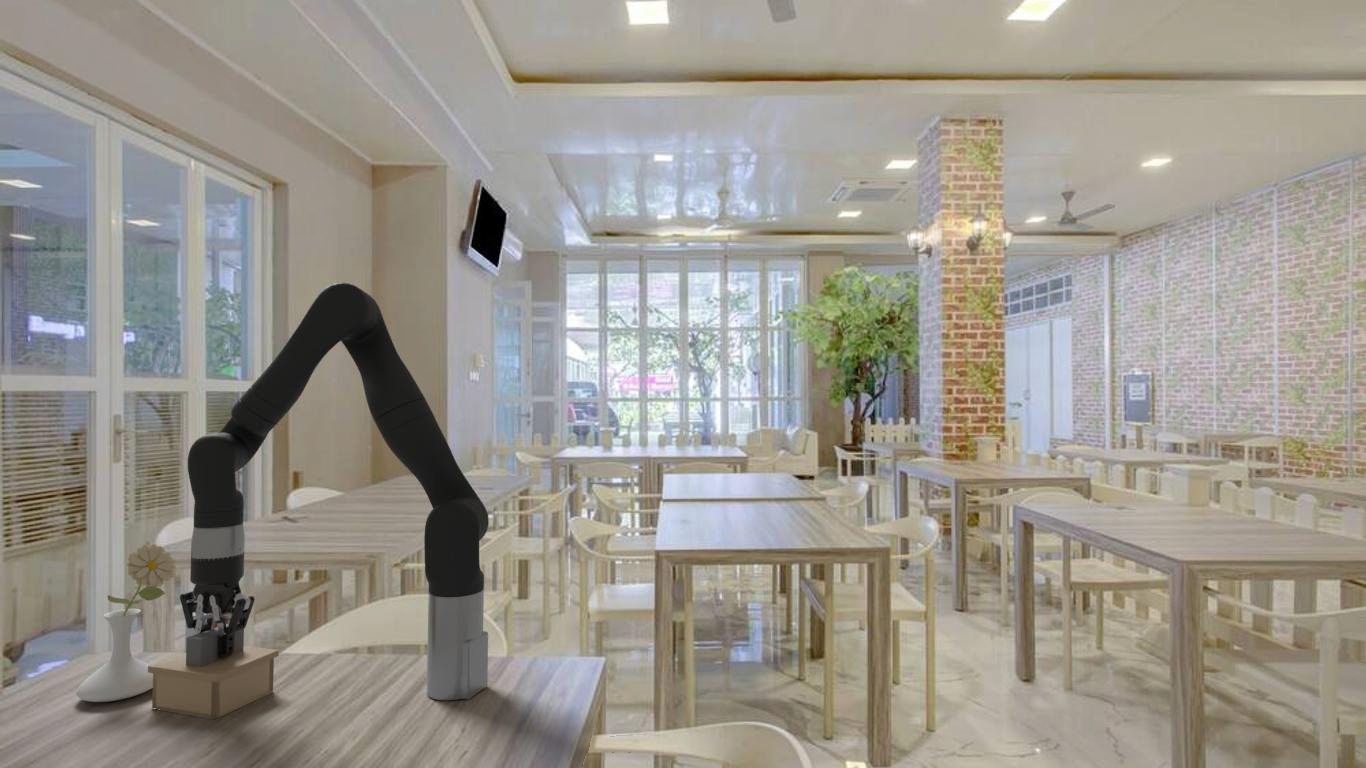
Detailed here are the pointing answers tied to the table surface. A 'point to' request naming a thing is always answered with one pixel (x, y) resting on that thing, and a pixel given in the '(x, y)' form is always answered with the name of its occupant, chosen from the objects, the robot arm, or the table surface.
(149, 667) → the mailer lid
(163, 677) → the box
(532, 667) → the table surface
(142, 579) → the flower in vase
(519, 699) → the table surface
